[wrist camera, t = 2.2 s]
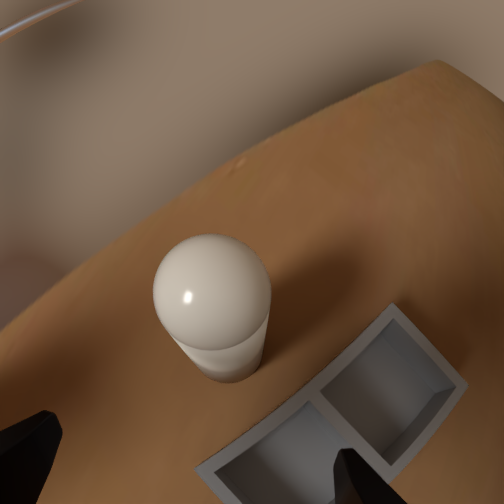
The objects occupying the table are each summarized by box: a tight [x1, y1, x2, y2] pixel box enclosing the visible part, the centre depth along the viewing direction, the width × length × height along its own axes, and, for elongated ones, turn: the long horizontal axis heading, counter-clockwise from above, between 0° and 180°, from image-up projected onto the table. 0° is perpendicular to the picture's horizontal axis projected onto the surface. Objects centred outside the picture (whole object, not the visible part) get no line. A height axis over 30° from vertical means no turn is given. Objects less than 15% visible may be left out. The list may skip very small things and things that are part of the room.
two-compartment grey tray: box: [194, 302, 469, 504], centre depth 17 cm, size 16×8×4 cm, turn 129°
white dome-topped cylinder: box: [153, 234, 271, 383], centre depth 16 cm, size 5×5×12 cm
